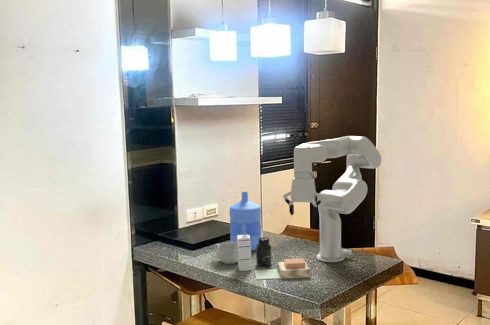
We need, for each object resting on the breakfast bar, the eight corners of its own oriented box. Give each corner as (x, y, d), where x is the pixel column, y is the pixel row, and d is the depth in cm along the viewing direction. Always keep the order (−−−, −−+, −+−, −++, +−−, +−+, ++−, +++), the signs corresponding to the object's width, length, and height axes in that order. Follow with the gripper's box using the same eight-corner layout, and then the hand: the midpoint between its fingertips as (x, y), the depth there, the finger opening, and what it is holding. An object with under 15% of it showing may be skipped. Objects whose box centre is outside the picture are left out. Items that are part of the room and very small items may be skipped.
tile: (302, 262, 211) (302, 258, 211) (305, 267, 205) (305, 262, 205) (284, 263, 211) (284, 259, 210) (286, 268, 205) (286, 263, 204)
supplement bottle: (267, 268, 216) (266, 241, 214) (253, 265, 219) (253, 239, 218) (274, 263, 221) (274, 237, 220) (261, 261, 225) (260, 235, 224)
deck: (305, 267, 214) (304, 260, 214) (310, 276, 203) (310, 269, 203) (277, 268, 213) (277, 262, 213) (281, 277, 202) (281, 270, 202)
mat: (305, 268, 214) (305, 267, 214) (310, 277, 203) (310, 276, 203) (254, 270, 213) (254, 270, 212) (256, 279, 202) (256, 279, 202)
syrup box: (252, 270, 213) (251, 237, 211) (238, 271, 213) (237, 238, 211) (250, 266, 219) (250, 234, 217) (237, 266, 218) (236, 234, 217)
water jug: (233, 242, 256) (231, 189, 253) (263, 243, 254) (262, 189, 251) (228, 251, 241) (226, 195, 238) (260, 252, 239) (258, 195, 236)
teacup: (246, 261, 225) (246, 244, 224) (230, 267, 218) (229, 250, 217) (225, 255, 235) (224, 239, 234) (208, 261, 227) (208, 244, 226)
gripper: (324, 174, 209) (324, 214, 211) (285, 173, 215) (285, 212, 217) (321, 177, 202) (322, 218, 204) (280, 176, 208) (281, 216, 210)
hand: (303, 215), depth 211 cm, fingers open, 9 cm apart
